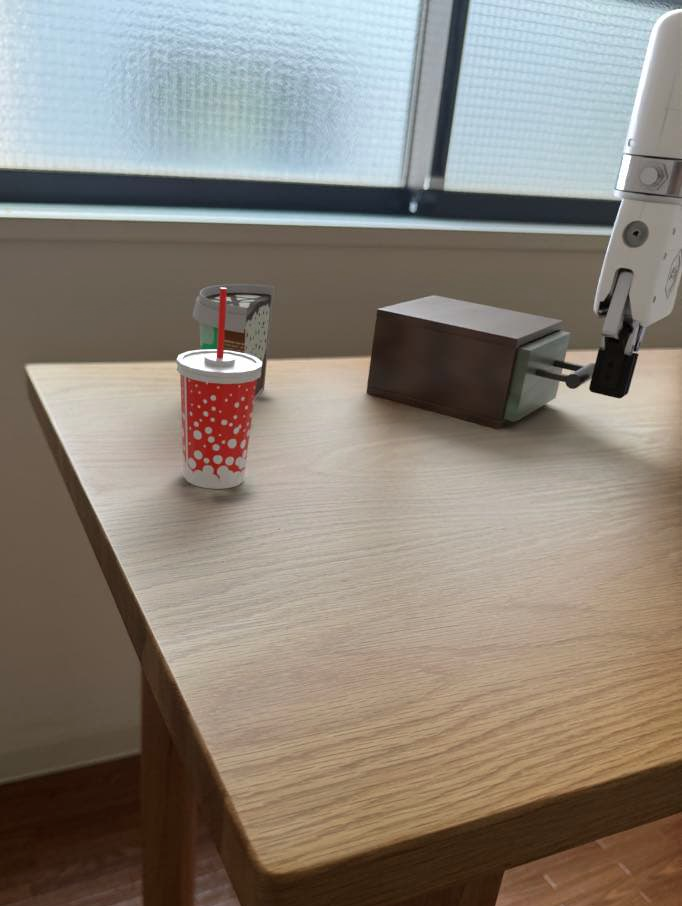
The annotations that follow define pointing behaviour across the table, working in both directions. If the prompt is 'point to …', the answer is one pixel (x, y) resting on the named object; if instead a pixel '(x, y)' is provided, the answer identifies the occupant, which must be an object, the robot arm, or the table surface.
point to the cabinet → (451, 355)
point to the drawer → (542, 374)
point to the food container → (238, 321)
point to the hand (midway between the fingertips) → (607, 393)
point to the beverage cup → (216, 411)
